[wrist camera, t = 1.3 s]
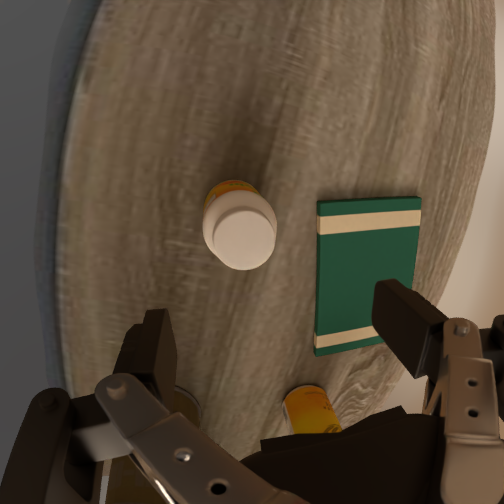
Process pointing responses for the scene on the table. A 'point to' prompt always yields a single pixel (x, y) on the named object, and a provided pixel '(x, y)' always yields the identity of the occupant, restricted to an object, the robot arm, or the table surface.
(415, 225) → the towel
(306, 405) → the beer can
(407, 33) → the table surface
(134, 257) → the table surface
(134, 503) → the canister
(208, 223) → the supplement bottle
